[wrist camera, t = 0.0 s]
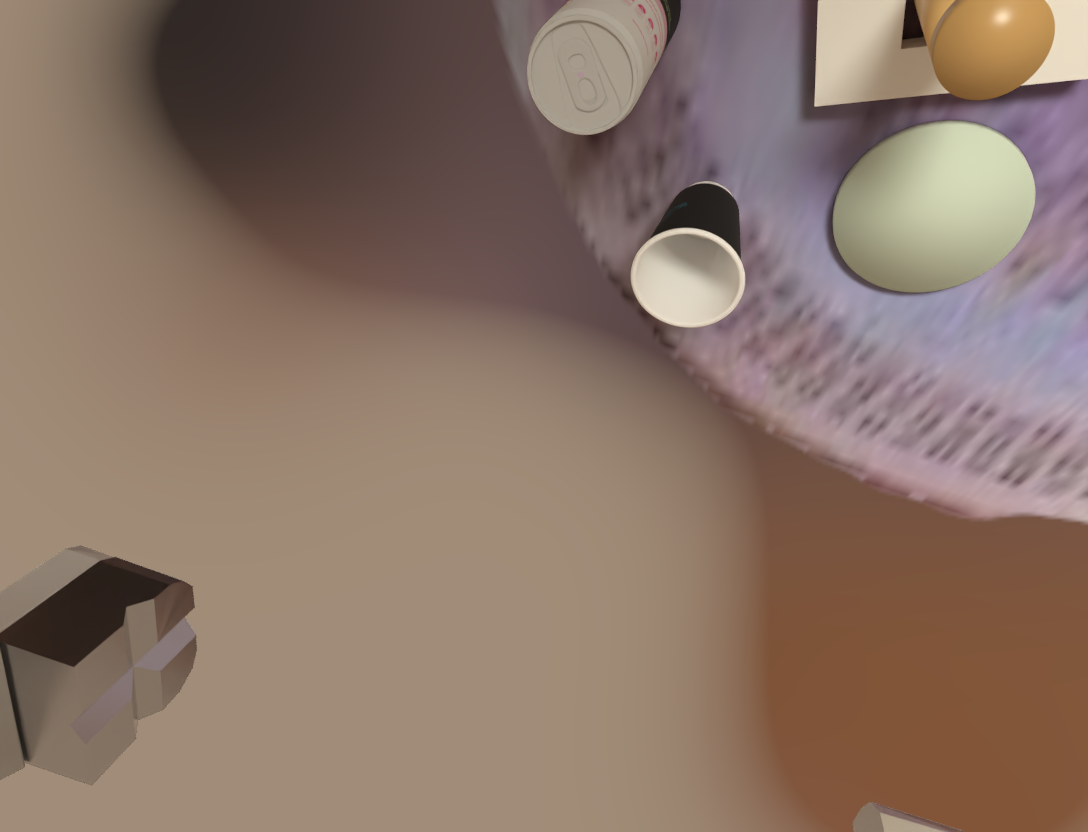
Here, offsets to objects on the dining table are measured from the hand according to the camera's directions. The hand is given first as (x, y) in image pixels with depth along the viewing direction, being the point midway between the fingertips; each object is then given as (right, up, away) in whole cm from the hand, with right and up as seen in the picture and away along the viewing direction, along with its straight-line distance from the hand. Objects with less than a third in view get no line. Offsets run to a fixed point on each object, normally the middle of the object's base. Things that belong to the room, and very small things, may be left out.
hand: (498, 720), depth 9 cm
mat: (+29, +19, +45) cm, 57 cm away
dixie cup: (+14, +20, +50) cm, 56 cm away
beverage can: (+7, +32, +42) cm, 53 cm away
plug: (+26, +30, +36) cm, 53 cm away
